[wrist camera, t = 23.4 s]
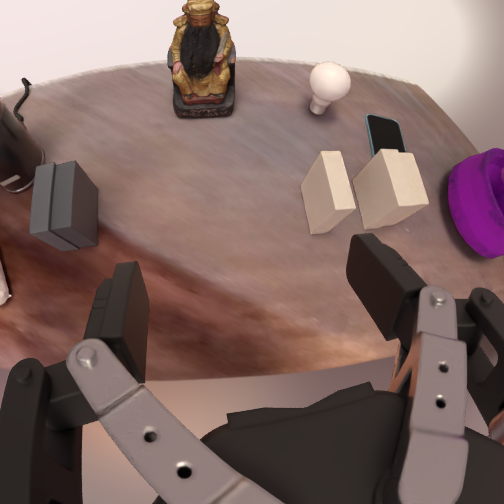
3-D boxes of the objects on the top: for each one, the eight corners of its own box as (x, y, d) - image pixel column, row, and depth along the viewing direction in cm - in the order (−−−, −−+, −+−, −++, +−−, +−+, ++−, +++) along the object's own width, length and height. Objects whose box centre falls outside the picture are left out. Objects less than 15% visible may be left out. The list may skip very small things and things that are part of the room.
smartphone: (398, 120, 50) (414, 191, 46) (395, 124, 51) (411, 194, 47) (365, 112, 49) (378, 185, 45) (362, 116, 50) (375, 188, 46)
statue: (169, 120, 45) (152, 20, 25) (177, 85, 47) (168, -10, 27) (245, 123, 46) (263, 23, 27) (247, 88, 48) (263, -7, 28)
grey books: (62, 251, 38) (29, 234, 29) (64, 194, 40) (36, 166, 31) (97, 246, 39) (69, 226, 30) (98, 187, 41) (74, 156, 32)
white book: (310, 234, 43) (335, 209, 33) (300, 185, 44) (320, 151, 35) (327, 232, 43) (356, 208, 34) (316, 184, 45) (340, 150, 35)
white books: (364, 229, 44) (398, 206, 34) (351, 180, 46) (380, 148, 36) (394, 226, 45) (431, 204, 35) (382, 179, 46) (413, 150, 37)
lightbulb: (318, 93, 49) (337, 50, 38) (340, 118, 48) (365, 77, 38) (290, 103, 48) (306, 58, 37) (313, 130, 47) (335, 87, 36)
